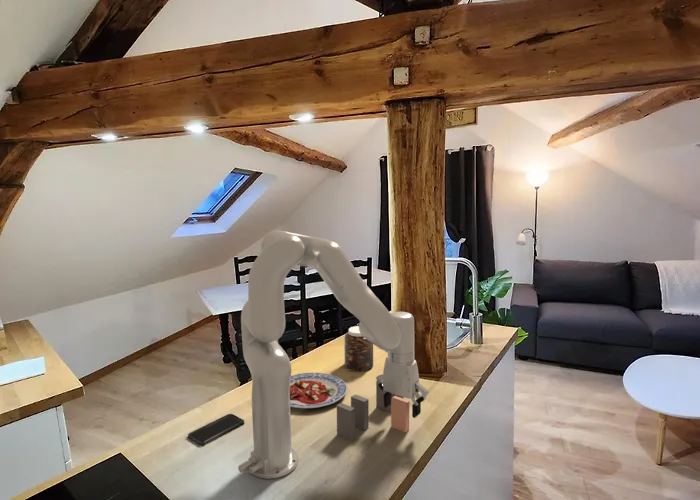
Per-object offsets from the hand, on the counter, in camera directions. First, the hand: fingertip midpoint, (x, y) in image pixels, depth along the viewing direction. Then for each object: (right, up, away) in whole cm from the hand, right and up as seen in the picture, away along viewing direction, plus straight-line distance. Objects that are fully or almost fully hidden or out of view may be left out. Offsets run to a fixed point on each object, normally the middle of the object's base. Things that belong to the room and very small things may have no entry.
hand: (401, 410), depth 125 cm
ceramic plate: (-29, -3, +22) cm, 37 cm away
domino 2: (-12, -5, +2) cm, 14 cm away
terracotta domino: (0, -5, +1) cm, 6 cm away
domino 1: (-16, -6, -3) cm, 18 cm away
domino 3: (-4, -4, +12) cm, 13 cm away
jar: (-12, +1, +45) cm, 47 cm away
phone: (-54, -7, +1) cm, 55 cm away
